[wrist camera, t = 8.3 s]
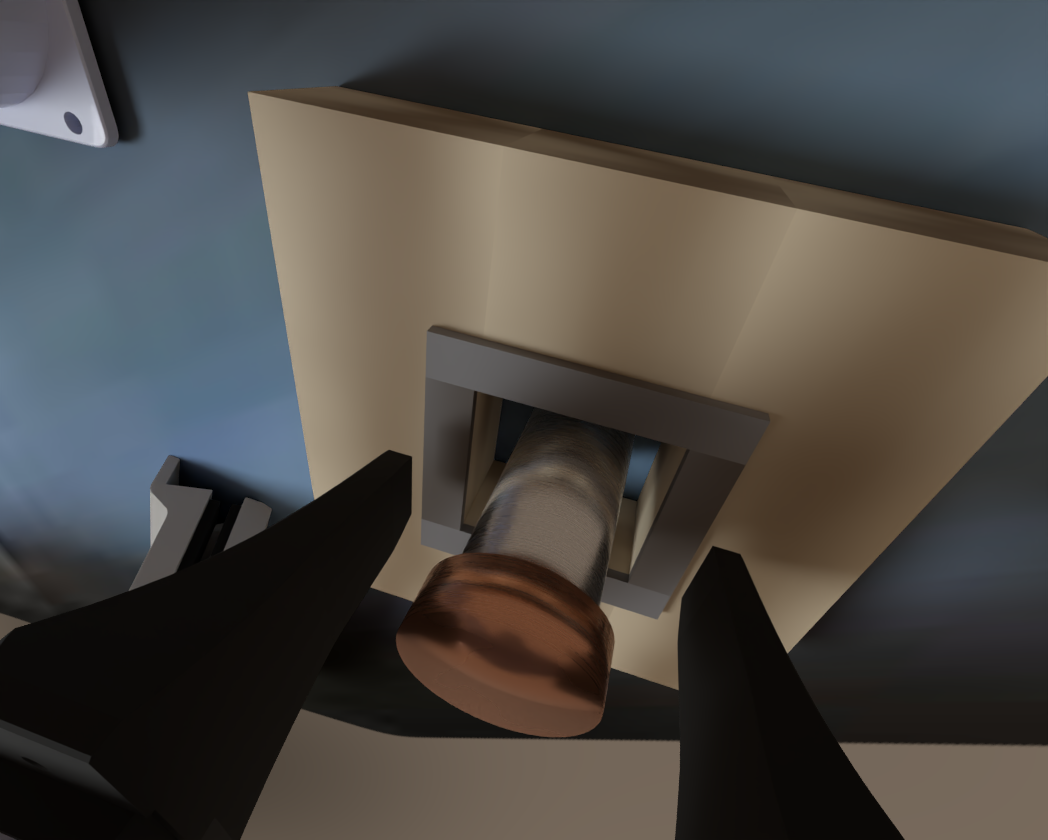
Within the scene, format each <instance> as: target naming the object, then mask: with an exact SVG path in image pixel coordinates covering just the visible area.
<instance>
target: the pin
mask: <svg viewBox="0 0 1048 840" xmlns="http://www.w3.org/2000/svg"><path fill="white" fill-rule="evenodd" d="M634 439H635V434H631V433H627V432H624V431H620V430H616V429H613V428H609V427H605V426H602V425H598V424H595V423H591V422H587V421H584V420H580V419H576V418H573V417H569V416H566V415H562V414H558V413H555V412H551V411H547V410H544V409H540V408H537V407H535V408H534V410H533V412H532V414H531V416H530V418H529V420H528V422H527V424H526V426H525V428H524V430H523V432H522V434H521V436H520V438H519V440H518V442H517V444H516V446H515V448H514V450H513V452H512V454H511V456H510V458H509V460H508V462H507V464H506V466H505V468H504V470H503V472H502V474H501V476H500V478H499V480H498V482H497V484H496V486H495V488H494V490H493V492H492V494H491V496H490V498H489V500H488V502H487V504H486V506H485V508H484V510H483V512H482V514H481V516H480V518H479V520H478V522H477V524H476V526H475V528H474V530H473V532H472V534H471V536H470V538H469V540H468V542H467V545H466V547H465V549H464V551H463V553H462V554H459V555H454V556H451V557H448V558H446V559H444V560H442V561H440V562H439V563H438V564H436V565H435V566H434V567H433V568H432V570H431V571H430V572H429V574H428V576H427V578H426V580H425V581H424V583H423V585H422V587H421V589H420V591H419V592H418V594H417V596H416V598H415V600H414V602H413V604H412V605H411V607H410V609H409V611H408V613H407V615H406V616H405V618H404V620H403V622H402V624H401V626H400V627H399V630H398V632H397V635H396V644H397V649H398V652H399V655H400V656H401V658H402V660H403V662H404V663H405V665H406V666H407V667H408V669H409V670H410V671H411V672H412V673H413V675H414V676H415V677H416V678H417V679H418V680H419V681H420V682H422V683H423V684H424V685H425V686H426V687H427V688H429V689H430V690H431V691H432V692H434V693H435V694H436V695H438V696H439V697H441V698H442V699H444V700H445V701H447V702H448V703H450V704H452V705H453V706H455V707H457V708H459V709H460V710H462V711H464V712H466V713H468V714H470V715H472V716H474V717H477V718H479V719H481V720H484V721H486V722H489V723H491V724H494V725H497V726H500V727H503V728H506V729H509V730H513V731H517V732H521V733H525V734H530V735H537V736H545V737H569V736H575V735H580V734H583V733H586V732H588V731H590V730H592V729H593V728H594V727H596V726H597V725H598V723H599V722H600V720H601V718H602V716H603V711H604V705H605V699H606V693H607V687H608V681H609V675H610V669H611V663H612V657H613V651H614V644H615V638H614V632H613V629H612V626H611V624H610V622H609V620H608V618H607V616H606V615H605V614H604V612H603V611H602V609H601V608H600V604H601V599H602V594H603V589H604V585H605V580H606V575H607V570H608V565H609V560H610V555H611V551H612V546H613V541H614V536H615V531H616V526H617V522H618V517H619V512H620V507H621V502H622V497H623V493H624V488H625V483H626V478H627V473H628V468H629V463H630V459H631V454H632V449H633V444H634Z"/></svg>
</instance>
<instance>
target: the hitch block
mask: <svg viewBox="0 0 1048 840" xmlns="http://www.w3.org/2000/svg"><path fill="white" fill-rule="evenodd" d="M248 97H249V103H250V109H251V115H252V122H253V128H254V134H255V140H256V146H257V152H258V158H259V164H260V170H261V177H262V183H263V189H264V195H265V201H266V207H267V213H268V219H269V225H270V232H271V238H272V244H273V250H274V256H275V262H276V268H277V274H278V280H279V287H280V293H281V299H282V305H283V311H284V317H285V323H286V329H287V335H288V342H289V348H290V354H291V360H292V366H293V372H294V378H295V384H296V390H297V397H298V403H299V409H300V415H301V421H302V427H303V433H304V439H305V445H306V452H307V458H308V464H309V470H310V476H311V482H312V488H313V494H314V500H315V499H317V498H318V497H320V496H321V495H323V494H324V493H326V492H327V491H329V490H330V489H332V488H333V487H335V486H336V485H338V484H339V483H341V482H342V481H344V480H345V479H347V478H348V477H350V476H351V475H352V474H354V473H355V472H357V471H358V470H360V469H361V468H362V467H364V466H365V465H367V464H368V463H370V462H371V461H372V460H374V459H375V458H377V457H378V456H380V455H381V454H382V453H384V452H385V451H387V450H392V451H395V452H399V453H402V454H405V455H409V456H412V514H411V516H410V518H409V521H408V523H407V525H406V527H405V529H404V531H403V533H402V535H401V537H400V539H399V541H398V543H397V545H396V547H395V549H394V551H393V553H392V554H391V556H390V557H389V559H388V561H387V562H386V564H385V565H384V567H383V568H382V570H381V572H380V573H379V575H378V576H377V578H376V579H375V581H374V582H373V584H372V585H371V588H374V589H377V590H380V591H383V592H386V593H389V594H392V595H395V596H398V597H401V598H404V599H407V600H410V601H413V602H414V600H415V598H416V596H417V594H418V592H419V591H420V589H421V587H422V585H423V583H424V581H425V580H426V578H427V576H428V574H429V572H430V571H431V570H432V568H433V567H434V566H435V565H436V564H438V563H439V562H440V561H442V560H444V559H446V558H448V557H451V556H454V555H459V554H462V553H463V551H464V549H465V547H466V545H467V542H468V540H469V538H470V536H471V534H472V532H473V530H474V528H475V526H476V524H477V522H478V520H479V518H480V516H481V514H482V512H483V510H484V508H485V506H486V504H487V502H488V500H489V498H490V496H491V494H492V492H493V490H494V488H495V486H496V484H497V482H498V480H499V478H500V476H501V474H502V472H503V470H504V468H505V466H506V464H507V463H503V462H500V461H496V460H494V456H495V449H496V442H497V436H498V429H499V422H500V415H501V408H502V401H503V398H504V399H507V400H511V401H515V402H518V403H522V404H526V405H529V406H533V407H537V408H540V409H544V410H547V411H551V412H555V413H558V414H562V415H566V416H569V417H573V418H576V419H580V420H584V421H587V422H591V423H595V424H598V425H602V426H605V427H609V428H613V429H616V430H620V431H624V432H627V433H631V434H635V435H638V436H642V437H645V438H649V439H653V440H656V441H660V442H661V445H660V447H659V449H658V452H657V454H656V457H655V459H654V461H653V464H652V466H651V469H650V471H649V474H648V476H647V478H646V481H645V483H644V486H643V488H642V490H641V493H640V495H639V498H638V500H637V501H634V500H630V499H627V498H623V497H622V502H621V507H620V512H619V517H618V522H617V526H616V531H615V536H614V541H613V546H612V551H611V555H610V560H609V565H608V570H607V575H606V580H605V585H604V589H603V594H602V599H601V604H600V608H601V609H602V611H603V612H604V614H605V615H606V616H607V618H608V620H609V622H610V624H611V626H612V629H613V632H614V638H615V644H614V651H613V657H612V663H611V668H614V669H617V670H620V671H623V672H626V673H629V674H632V675H635V676H638V677H641V678H644V679H647V680H650V681H653V682H656V683H659V684H662V685H665V686H668V687H671V688H674V689H677V690H679V688H678V645H677V641H678V629H679V618H680V608H681V599H682V596H683V595H684V593H685V591H686V590H687V588H688V586H689V585H690V583H691V581H692V580H693V578H694V576H695V574H696V573H697V571H698V569H699V568H700V566H701V564H702V563H703V561H704V559H705V558H706V556H707V554H708V553H709V551H710V549H711V548H712V546H716V547H719V548H722V549H726V550H729V551H732V552H736V553H739V554H741V556H742V558H743V560H744V562H745V564H746V567H747V569H748V571H749V573H750V576H751V578H752V580H753V582H754V585H755V587H756V589H757V591H758V593H759V596H760V598H761V600H762V602H763V604H764V607H765V609H766V611H767V613H768V615H769V617H770V619H771V621H772V624H773V626H774V628H775V630H776V632H777V634H778V636H779V638H780V640H781V642H782V644H783V646H784V648H785V650H786V652H787V653H788V652H789V651H790V650H791V649H792V648H793V647H794V646H795V645H796V644H797V643H798V642H799V640H800V639H801V638H802V637H803V636H804V635H805V634H806V633H807V632H808V631H809V630H810V629H811V628H812V627H813V626H814V624H815V623H816V622H817V621H818V620H819V619H820V618H821V617H822V616H823V615H824V614H825V613H826V612H827V611H828V610H829V608H830V607H831V606H832V605H833V604H834V603H835V602H836V601H837V600H838V599H839V598H840V597H841V596H842V595H843V594H844V592H845V591H846V590H847V589H848V588H849V587H850V586H851V585H852V584H853V583H854V582H855V581H856V580H857V579H858V578H859V577H860V575H861V574H862V573H863V572H864V571H865V570H866V569H867V568H868V567H869V566H870V565H871V564H872V563H873V562H874V561H875V559H876V558H877V557H878V556H879V555H880V554H881V553H882V552H883V551H884V550H885V549H886V548H887V547H888V546H889V545H890V543H891V542H892V541H893V540H894V539H895V538H896V537H897V536H898V535H899V534H900V533H901V532H902V531H903V530H904V529H905V527H906V526H907V525H908V524H909V523H910V522H911V521H912V520H913V519H914V518H915V517H916V516H917V515H918V514H919V513H920V512H921V510H922V509H923V508H924V507H925V506H926V505H927V504H928V503H929V502H930V501H931V500H932V499H933V498H934V497H935V496H936V494H937V493H938V492H939V491H940V490H941V489H942V488H943V487H944V486H945V485H946V484H947V483H948V482H949V481H950V480H951V478H952V477H953V476H954V475H955V474H956V473H957V472H958V471H959V470H960V469H961V468H962V467H963V466H964V465H965V464H966V462H967V461H968V460H969V459H970V458H971V457H972V456H973V455H974V454H975V453H976V452H977V451H978V450H979V449H980V448H981V446H982V445H983V444H984V443H985V442H986V441H987V440H988V439H989V438H990V437H991V436H992V435H993V434H994V433H995V432H996V431H997V429H998V428H999V427H1000V426H1001V425H1002V424H1003V423H1004V422H1005V421H1006V420H1007V419H1008V418H1009V417H1010V416H1011V415H1012V413H1013V412H1014V411H1015V410H1016V409H1017V408H1018V407H1019V406H1020V405H1021V404H1022V403H1023V402H1024V401H1025V400H1026V399H1027V397H1028V396H1029V395H1030V394H1031V393H1032V392H1033V391H1034V390H1035V389H1036V388H1037V387H1038V386H1039V385H1040V384H1041V383H1042V381H1043V380H1044V379H1045V378H1046V377H1047V376H1048V238H1046V237H1044V236H1042V235H1040V234H1037V233H1035V232H1033V231H1031V230H1029V229H1026V228H1021V227H1016V226H1011V225H1006V224H1001V223H996V222H992V221H987V220H982V219H977V218H972V217H967V216H963V215H958V214H953V213H948V212H943V211H938V210H934V209H929V208H924V207H919V206H914V205H909V204H904V203H900V202H895V201H890V200H885V199H880V198H875V197H871V196H866V195H861V194H856V193H851V192H846V191H842V190H837V189H832V188H827V187H822V186H817V185H813V184H808V183H803V182H798V181H793V180H788V179H783V178H779V177H774V176H769V175H764V174H759V173H754V172H750V171H745V170H740V169H735V168H730V167H725V166H721V165H716V164H711V163H706V162H701V161H696V160H691V159H687V158H682V157H677V156H672V155H667V154H662V153H658V152H653V151H648V150H643V149H638V148H633V147H629V146H624V145H619V144H614V143H609V142H604V141H600V140H595V139H590V138H585V137H580V136H575V135H570V134H566V133H561V132H556V131H551V130H546V129H541V128H537V127H532V126H527V125H522V124H517V123H512V122H508V121H503V120H498V119H493V118H488V117H483V116H478V115H474V114H469V113H464V112H459V111H454V110H449V109H445V108H440V107H435V106H430V105H425V104H420V103H416V102H411V101H406V100H401V99H396V98H391V97H387V96H382V95H377V94H372V93H367V92H362V91H357V90H353V89H348V88H343V87H338V86H331V87H315V88H299V89H283V90H267V91H250V92H248Z"/></svg>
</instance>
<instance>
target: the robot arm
mask: <svg viewBox="0 0 1048 840" xmlns="http://www.w3.org/2000/svg"><path fill="white" fill-rule="evenodd" d="M0 125H4V126H8V127H12V128H17V129H21V130H25V131H29V132H34V133H38V134H42V135H46V136H50V137H55V138H59V139H63V140H67V141H72V142H76V143H80V144H84V145H88V146H93V147H97V148H105V147H112V146H115V145H116V144H117V143H118V138H119V135H118V129H117V126H116V122H115V119H114V116H113V113H112V109H111V106H110V103H109V100H108V97H107V93H106V90H105V87H104V84H103V80H102V77H101V74H100V71H99V68H98V64H97V61H96V58H95V55H94V51H93V48H92V45H91V42H90V38H89V35H88V32H87V29H86V26H85V22H84V19H83V16H82V13H81V9H80V6H79V3H78V0H0ZM411 514H412V456H409V455H405V454H402V453H399V452H395V451H392V450H387V451H385V452H384V453H382V454H381V455H380V456H378V457H377V458H375V459H374V460H372V461H371V462H370V463H368V464H367V465H365V466H364V467H362V468H361V469H360V470H358V471H357V472H355V473H354V474H352V475H351V476H350V477H348V478H347V479H345V480H344V481H342V482H341V483H339V484H338V485H336V486H335V487H333V488H332V489H330V490H329V491H327V492H326V493H324V494H323V495H321V496H320V497H318V498H317V499H315V500H314V501H312V502H310V503H309V504H307V505H306V506H304V507H302V508H301V509H299V510H297V511H296V512H294V513H292V514H291V515H289V516H287V517H286V518H284V519H282V520H281V521H279V522H277V523H275V524H274V525H272V526H270V527H268V528H267V529H265V530H263V531H261V532H259V533H258V534H256V535H254V536H252V537H250V538H248V539H246V540H244V541H242V542H240V543H238V544H236V545H234V546H232V547H230V548H228V549H226V550H224V551H222V552H220V553H218V554H216V555H214V556H212V557H209V558H207V559H205V560H203V561H201V562H198V563H196V564H194V565H192V566H190V567H187V568H185V569H183V570H180V571H178V572H176V573H174V574H171V575H169V576H166V577H164V578H161V579H159V580H156V581H153V582H151V583H148V584H146V585H143V586H140V587H138V588H135V589H133V590H130V591H127V592H125V593H122V594H119V595H117V596H114V597H111V598H108V599H106V600H103V601H100V602H97V603H94V604H91V605H88V606H85V607H82V608H79V609H76V610H72V611H69V612H66V613H63V614H60V615H57V616H53V617H50V618H47V619H44V620H41V621H38V622H34V623H31V624H28V625H24V626H21V627H18V628H15V629H14V630H12V631H11V632H10V633H8V634H7V635H6V636H5V637H3V638H2V639H1V640H0V840H240V838H241V836H242V834H243V832H244V829H245V827H246V824H247V822H248V820H249V818H250V816H251V814H252V811H253V809H254V807H255V805H256V802H257V800H258V798H259V796H260V794H261V791H262V789H263V787H264V784H265V782H266V780H267V778H268V776H269V774H270V772H271V769H272V767H273V765H274V763H275V761H276V759H277V757H278V755H279V753H280V750H281V748H282V746H283V744H284V742H285V740H286V738H287V736H288V734H289V732H290V730H291V727H292V725H293V723H294V721H295V719H296V717H297V715H298V713H299V711H300V709H301V707H302V705H303V703H304V701H305V699H306V697H307V695H308V693H309V691H310V689H311V687H312V686H313V684H314V682H315V680H316V678H317V676H318V674H319V672H320V670H321V668H322V666H323V664H324V663H325V661H326V659H327V657H328V655H329V653H330V651H331V649H332V647H333V646H334V644H335V642H336V640H337V639H338V637H339V635H340V634H341V632H342V630H343V629H344V627H345V626H346V624H347V622H348V621H349V619H350V618H351V616H352V615H353V613H354V612H355V610H356V609H357V607H358V606H359V604H360V602H361V601H362V599H363V598H364V596H365V595H366V593H367V592H368V590H369V589H370V587H371V585H372V584H373V582H374V581H375V579H376V578H377V576H378V575H379V573H380V572H381V570H382V568H383V567H384V565H385V564H386V562H387V561H388V559H389V557H390V556H391V554H392V553H393V551H394V549H395V547H396V545H397V543H398V541H399V539H400V537H401V535H402V533H403V531H404V529H405V527H406V525H407V523H408V521H409V518H410V516H411ZM677 645H678V688H679V722H680V776H679V792H678V808H677V821H676V822H677V823H676V834H675V840H904V838H903V837H902V835H901V834H900V832H899V831H898V830H897V828H896V827H895V825H894V824H893V823H892V821H891V820H890V819H889V817H888V816H887V815H886V813H885V812H884V810H883V809H882V808H881V806H880V805H879V803H878V802H877V801H876V799H875V798H874V796H873V795H872V794H871V792H870V791H869V790H868V788H867V786H866V785H865V783H864V782H863V781H862V779H861V778H860V776H859V775H858V773H857V772H856V770H855V769H854V767H853V766H852V764H851V763H850V761H849V759H848V758H847V756H846V755H845V753H844V752H843V750H842V749H841V747H840V745H839V744H838V742H837V741H836V739H835V737H834V736H833V734H832V733H831V731H830V729H829V728H828V726H827V724H826V723H825V721H824V719H823V718H822V716H821V714H820V712H819V711H818V709H817V707H816V706H815V704H814V702H813V700H812V698H811V697H810V695H809V693H808V691H807V689H806V688H805V686H804V684H803V682H802V680H801V679H800V677H799V675H798V673H797V671H796V669H795V667H794V665H793V664H792V662H791V660H790V658H789V656H788V654H787V652H786V650H785V648H784V646H783V644H782V642H781V640H780V638H779V636H778V634H777V632H776V630H775V628H774V626H773V624H772V621H771V619H770V617H769V615H768V613H767V611H766V609H765V607H764V604H763V602H762V600H761V598H760V596H759V593H758V591H757V589H756V587H755V585H754V582H753V580H752V578H751V576H750V573H749V571H748V569H747V567H746V564H745V562H744V560H743V558H742V556H741V554H739V553H736V552H732V551H729V550H726V549H722V548H719V547H716V546H712V548H711V549H710V551H709V553H708V554H707V556H706V558H705V559H704V561H703V563H702V564H701V566H700V568H699V569H698V571H697V573H696V574H695V576H694V578H693V580H692V581H691V583H690V585H689V586H688V588H687V590H686V591H685V593H684V595H683V596H682V599H681V608H680V618H679V629H678V641H677Z"/></svg>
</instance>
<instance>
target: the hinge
mask: <svg viewBox="0 0 1048 840" xmlns="http://www.w3.org/2000/svg"><path fill="white" fill-rule="evenodd" d="M179 469H180V459H178V458H176V457H174V456H170V455H169V456H168V457H167V459H166V461H165V462H164V464H163V466H162V467H161V469H160V471H159V472H158V474H157V476H156V477H155V479H154V481H153V482H152V484H151V487H150V510H151V548H150V550H149V552H148V554H147V556H146V558H145V560H144V562H143V564H142V566H141V568H140V570H139V572H138V574H137V576H136V578H135V580H134V582H133V584H132V586H131V588H130V590H133V589H135V588H138V587H140V586H143V585H146V584H148V583H151V582H153V581H156V580H159V579H161V578H164V577H166V576H169V575H171V574H174V573H176V572H178V571H180V570H183V569H185V568H187V567H190V566H192V565H194V564H196V563H198V562H201V561H203V560H205V559H207V558H209V557H212V556H214V555H216V554H218V553H220V552H222V551H224V550H226V549H228V548H230V547H232V546H234V545H236V544H238V543H240V542H242V541H244V540H246V539H248V538H250V537H252V536H254V535H256V534H258V533H259V532H261V531H263V530H265V529H267V526H268V522H269V518H270V515H271V511H272V509H271V508H270V507H268V506H267V505H265V504H264V503H262V502H259V501H256V500H253V499H250V498H247V497H246V498H245V499H244V502H243V504H242V506H241V505H236V504H232V505H231V507H230V510H229V512H228V515H227V517H226V519H225V522H224V523H221V524H217V525H216V523H217V520H218V514H219V507H220V501H217V500H212V499H211V498H212V490H208V489H200V488H192V487H184V486H179ZM130 590H129V591H130Z"/></svg>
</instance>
